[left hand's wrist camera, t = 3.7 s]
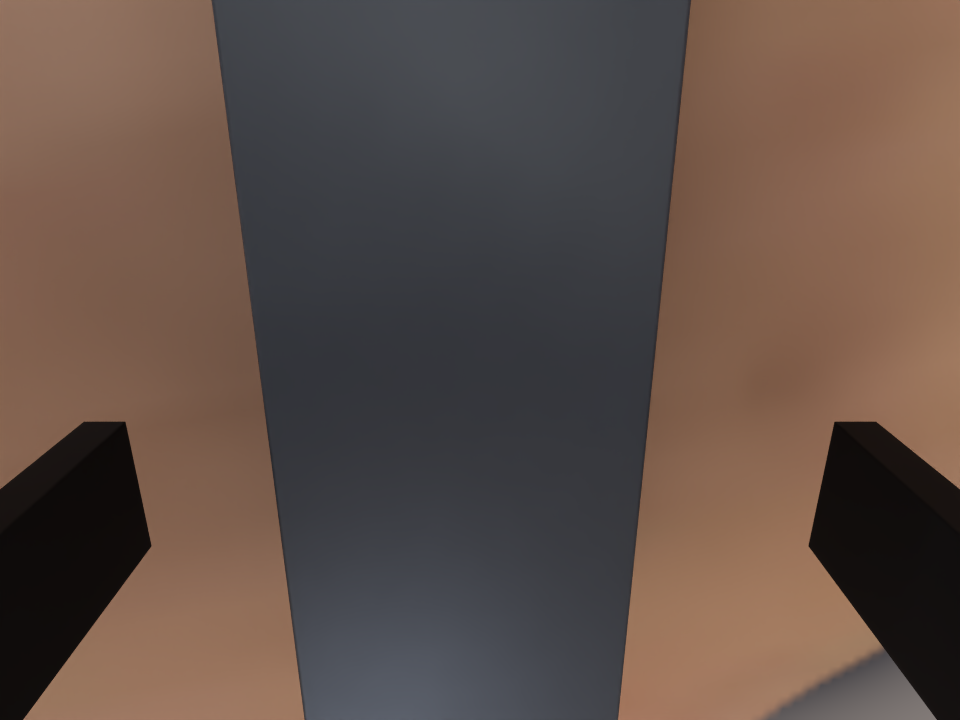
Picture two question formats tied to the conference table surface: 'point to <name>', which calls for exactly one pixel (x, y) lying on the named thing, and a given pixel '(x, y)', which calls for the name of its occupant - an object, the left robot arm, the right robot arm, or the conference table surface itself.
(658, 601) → the conference table surface
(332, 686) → the bar
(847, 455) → the left robot arm
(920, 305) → the conference table surface
